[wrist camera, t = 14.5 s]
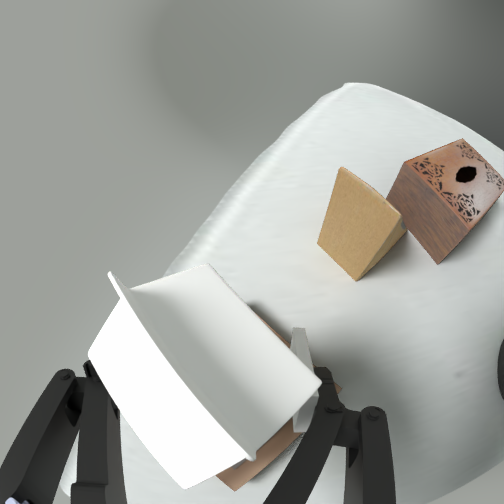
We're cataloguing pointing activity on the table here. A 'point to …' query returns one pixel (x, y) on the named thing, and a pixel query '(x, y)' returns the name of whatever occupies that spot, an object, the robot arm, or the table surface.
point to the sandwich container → (358, 225)
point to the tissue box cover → (445, 195)
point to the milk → (197, 373)
